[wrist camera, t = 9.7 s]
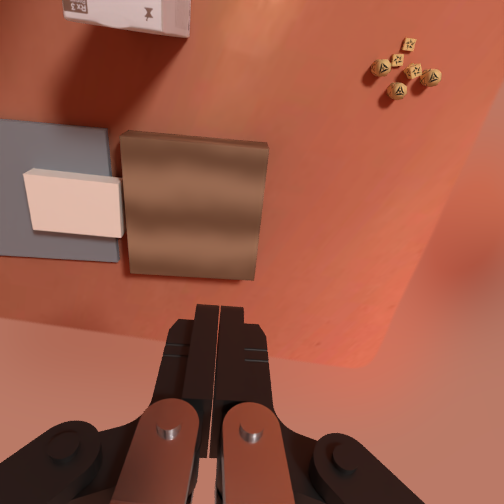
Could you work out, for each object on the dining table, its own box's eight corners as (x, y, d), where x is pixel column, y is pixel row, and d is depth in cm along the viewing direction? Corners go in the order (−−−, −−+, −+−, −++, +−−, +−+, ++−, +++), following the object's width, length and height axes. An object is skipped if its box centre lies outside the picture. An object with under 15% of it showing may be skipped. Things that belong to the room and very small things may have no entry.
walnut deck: (128, 130, 36) (119, 136, 33) (266, 142, 37) (269, 149, 34) (136, 260, 43) (130, 273, 40) (252, 267, 44) (253, 280, 41)
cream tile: (33, 168, 36) (23, 173, 35) (123, 178, 37) (118, 184, 35) (42, 222, 39) (32, 229, 37) (126, 230, 40) (121, 237, 38)
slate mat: (-64, 113, 34) (-70, 114, 34) (107, 128, 36) (104, 129, 35) (-22, 250, 41) (-26, 253, 41) (119, 259, 43) (117, 262, 42)
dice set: (434, 79, 35) (444, 80, 33) (386, 110, 36) (393, 112, 35) (415, 28, 33) (425, 27, 31) (365, 63, 34) (372, 63, 33)
